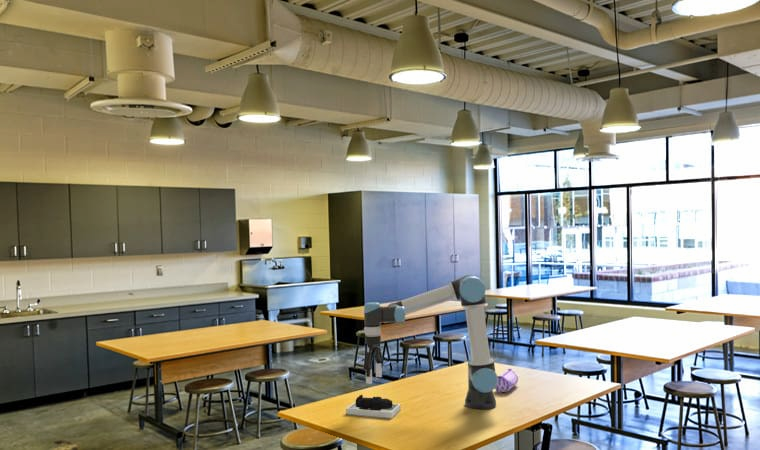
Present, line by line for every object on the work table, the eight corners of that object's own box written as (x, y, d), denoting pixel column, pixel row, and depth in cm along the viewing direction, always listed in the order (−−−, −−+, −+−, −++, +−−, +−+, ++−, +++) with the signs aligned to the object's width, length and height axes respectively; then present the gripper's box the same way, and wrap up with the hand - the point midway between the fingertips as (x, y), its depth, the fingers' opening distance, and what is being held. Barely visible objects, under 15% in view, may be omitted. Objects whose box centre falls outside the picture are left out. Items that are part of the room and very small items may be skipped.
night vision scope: (392, 417, 281) (387, 408, 274) (356, 415, 286) (350, 406, 279) (394, 401, 286) (389, 392, 279) (359, 400, 291) (353, 390, 284)
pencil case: (502, 384, 338) (502, 367, 339) (519, 385, 334) (518, 368, 335) (493, 393, 318) (492, 375, 318) (510, 395, 314) (510, 376, 315)
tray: (400, 410, 287) (400, 404, 287) (391, 419, 273) (391, 412, 273) (357, 406, 294) (357, 400, 294) (345, 414, 281) (345, 408, 281)
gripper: (374, 331, 298) (375, 374, 297) (355, 339, 274) (357, 385, 273) (388, 331, 295) (389, 374, 295) (371, 339, 272) (372, 386, 271)
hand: (374, 380), depth 284 cm, fingers open, 13 cm apart
